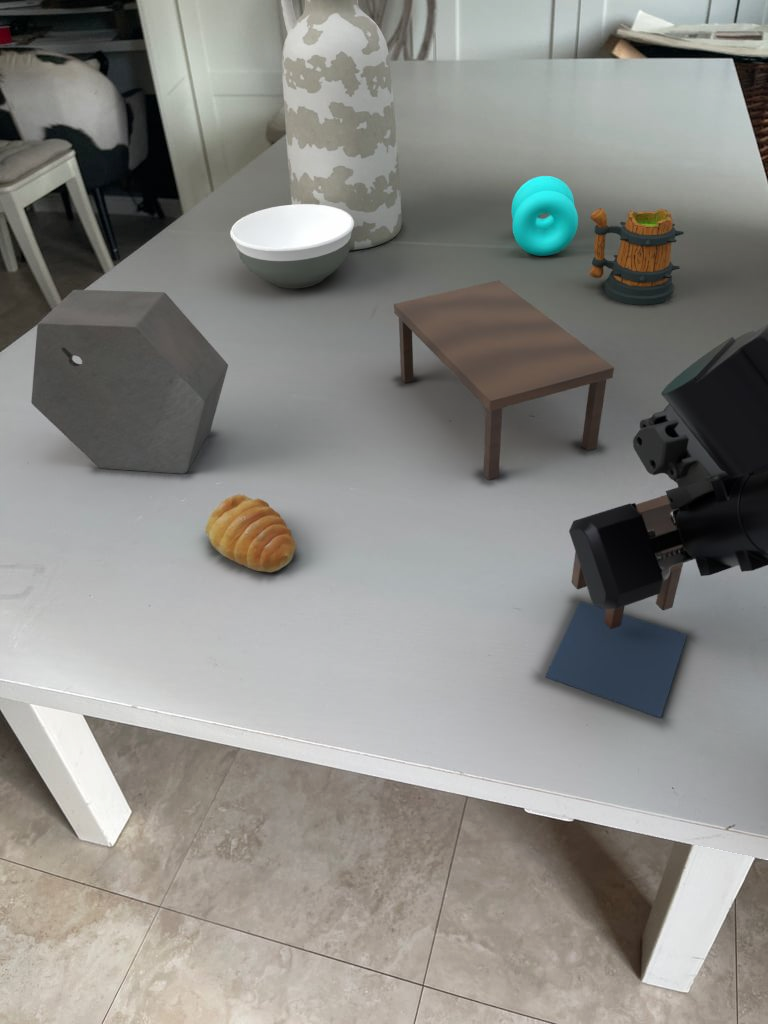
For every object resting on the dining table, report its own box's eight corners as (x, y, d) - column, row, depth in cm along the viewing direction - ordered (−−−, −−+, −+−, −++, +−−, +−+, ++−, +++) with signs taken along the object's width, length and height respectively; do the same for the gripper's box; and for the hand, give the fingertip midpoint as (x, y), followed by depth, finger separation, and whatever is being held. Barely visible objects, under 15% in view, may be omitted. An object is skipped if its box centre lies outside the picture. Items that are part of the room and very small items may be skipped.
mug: (673, 277, 120) (688, 198, 112) (676, 307, 112) (692, 225, 105) (584, 273, 122) (592, 195, 115) (580, 302, 115) (589, 221, 107)
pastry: (315, 552, 77) (311, 521, 74) (259, 589, 73) (253, 559, 71) (255, 510, 82) (249, 480, 79) (200, 543, 78) (192, 513, 76)
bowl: (282, 247, 136) (275, 197, 131) (379, 263, 129) (376, 211, 124) (214, 290, 124) (204, 238, 119) (317, 311, 116) (311, 256, 111)
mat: (686, 636, 66) (686, 634, 66) (660, 718, 60) (661, 716, 60) (579, 602, 70) (580, 601, 70) (545, 677, 64) (545, 675, 64)
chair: (672, 607, 67) (701, 493, 59) (610, 630, 65) (631, 515, 58) (630, 562, 71) (651, 451, 64) (570, 582, 70) (585, 470, 62)
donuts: (570, 234, 134) (576, 172, 128) (575, 258, 127) (582, 194, 120) (509, 235, 135) (512, 174, 129) (511, 259, 128) (514, 195, 121)
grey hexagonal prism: (261, 401, 89) (126, 247, 80) (240, 441, 83) (91, 279, 74) (160, 462, 97) (26, 328, 88) (134, 502, 91) (-12, 363, 82)
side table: (602, 449, 87) (614, 367, 81) (486, 483, 84) (490, 400, 77) (496, 353, 105) (499, 279, 98) (396, 378, 101) (393, 303, 95)
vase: (424, 227, 140) (420, -37, 116) (348, 261, 130) (326, -20, 106) (343, 203, 151) (323, -42, 127) (267, 233, 141) (230, -27, 117)
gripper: (857, 349, 51) (706, 413, 66) (602, 421, 46) (503, 472, 61) (918, 518, 50) (751, 544, 65) (665, 608, 45) (548, 614, 60)
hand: (641, 540), depth 63 cm, fingers closed on chair, 6 cm apart
